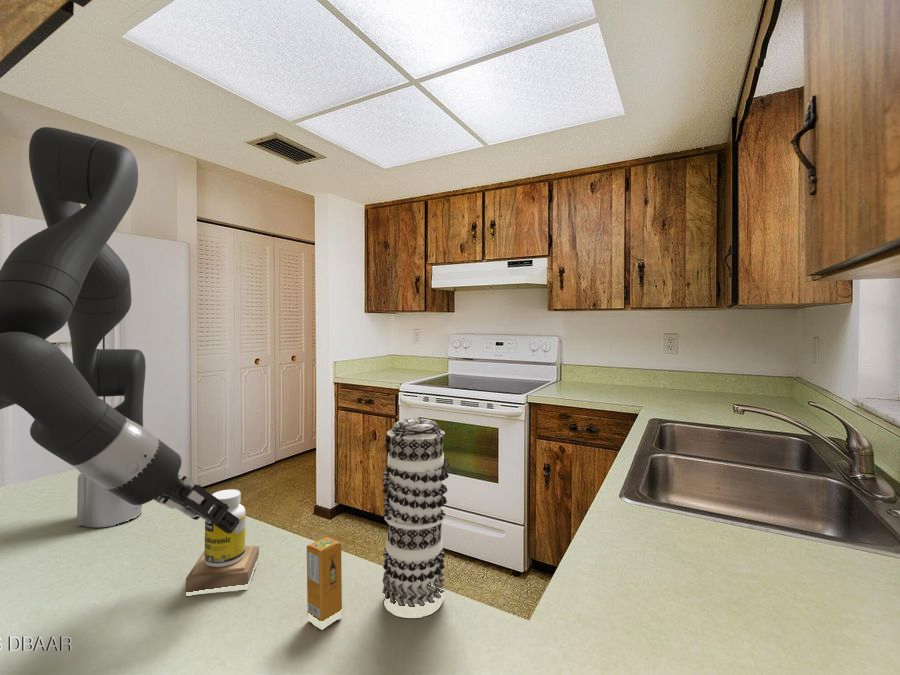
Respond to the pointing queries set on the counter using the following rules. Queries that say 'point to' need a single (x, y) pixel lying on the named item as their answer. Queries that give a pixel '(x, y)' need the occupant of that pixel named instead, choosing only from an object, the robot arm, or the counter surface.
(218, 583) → the stand
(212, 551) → the supplement bottle
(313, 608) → the supplement box
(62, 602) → the counter surface
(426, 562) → the decorative candle
